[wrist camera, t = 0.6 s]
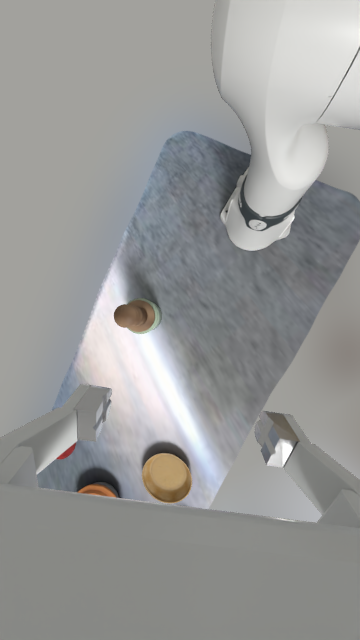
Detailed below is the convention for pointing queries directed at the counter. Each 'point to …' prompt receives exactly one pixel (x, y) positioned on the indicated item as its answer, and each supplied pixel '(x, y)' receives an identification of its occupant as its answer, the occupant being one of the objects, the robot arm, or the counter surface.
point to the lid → (135, 315)
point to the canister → (157, 316)
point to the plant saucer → (167, 478)
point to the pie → (100, 490)
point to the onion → (67, 452)
